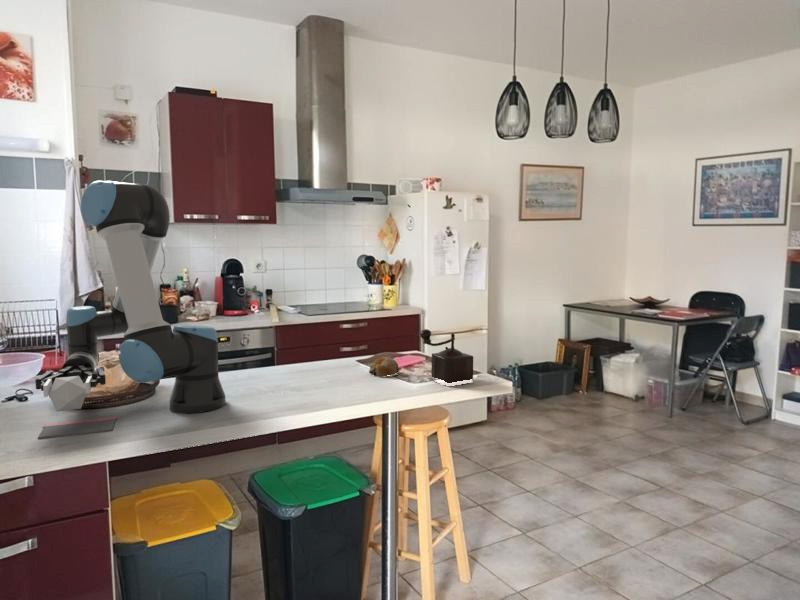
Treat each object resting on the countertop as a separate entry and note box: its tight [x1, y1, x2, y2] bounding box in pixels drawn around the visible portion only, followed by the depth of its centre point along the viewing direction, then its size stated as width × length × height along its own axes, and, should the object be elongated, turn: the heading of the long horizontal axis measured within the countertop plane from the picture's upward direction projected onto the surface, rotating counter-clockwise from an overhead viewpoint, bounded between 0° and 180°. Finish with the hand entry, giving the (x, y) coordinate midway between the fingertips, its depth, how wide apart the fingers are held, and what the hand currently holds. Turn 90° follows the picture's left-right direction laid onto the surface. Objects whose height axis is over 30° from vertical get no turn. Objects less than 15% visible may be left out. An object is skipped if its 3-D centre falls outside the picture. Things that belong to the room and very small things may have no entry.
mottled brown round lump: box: [368, 356, 400, 377], centre depth 204 cm, size 10×10×8 cm
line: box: [42, 416, 119, 428], centre depth 151 cm, size 17×2×1 cm, turn 112°
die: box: [48, 376, 87, 412], centre depth 143 cm, size 8×9×10 cm
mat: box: [37, 420, 116, 440], centre depth 145 cm, size 16×8×1 cm, turn 112°
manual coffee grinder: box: [419, 328, 474, 383], centre depth 193 cm, size 16×11×18 cm
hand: (66, 389), depth 139 cm, fingers closed on die, 8 cm apart
